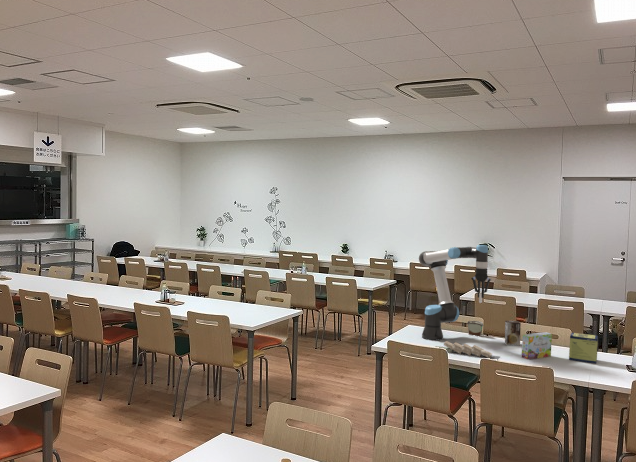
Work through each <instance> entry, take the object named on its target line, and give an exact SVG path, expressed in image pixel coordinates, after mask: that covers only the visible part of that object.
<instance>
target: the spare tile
mask: <svg viewBox="0 0 636 462" xmlns="http://www.w3.org/2000/svg"><path fill="white" fill-rule="evenodd" d="M434 347H439V348H444V349H446V350H447V351H448V352H451V353H452V352H453V351H454V350H452V349H450V348H448V347H446V346H437V345H435V346H434ZM448 352H447V353H448Z"/></svg>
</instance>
